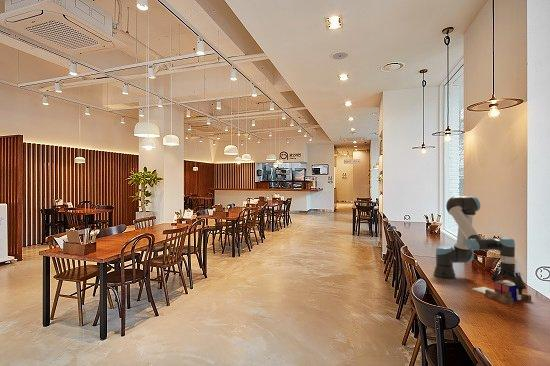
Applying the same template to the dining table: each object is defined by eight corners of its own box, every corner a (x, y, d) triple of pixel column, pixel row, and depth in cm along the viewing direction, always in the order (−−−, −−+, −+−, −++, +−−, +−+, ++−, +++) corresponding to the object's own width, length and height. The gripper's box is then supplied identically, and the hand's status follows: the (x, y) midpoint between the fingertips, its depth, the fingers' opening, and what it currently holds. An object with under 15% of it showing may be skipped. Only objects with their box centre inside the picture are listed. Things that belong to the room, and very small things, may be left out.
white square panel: (472, 289, 212) (472, 288, 212) (484, 287, 215) (484, 286, 215) (487, 295, 201) (487, 293, 201) (499, 293, 204) (499, 292, 204)
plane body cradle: (485, 295, 200) (484, 282, 200) (505, 292, 205) (505, 279, 205) (510, 305, 185) (510, 290, 185) (531, 301, 190) (531, 287, 190)
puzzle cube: (509, 302, 189) (509, 286, 189) (494, 296, 198) (494, 281, 198) (521, 300, 191) (521, 284, 191) (505, 295, 201) (505, 280, 201)
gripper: (484, 258, 206) (484, 289, 206) (524, 267, 182) (524, 303, 182) (492, 257, 208) (493, 288, 208) (532, 266, 184) (533, 302, 184)
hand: (507, 295), depth 195 cm, fingers open, 13 cm apart
